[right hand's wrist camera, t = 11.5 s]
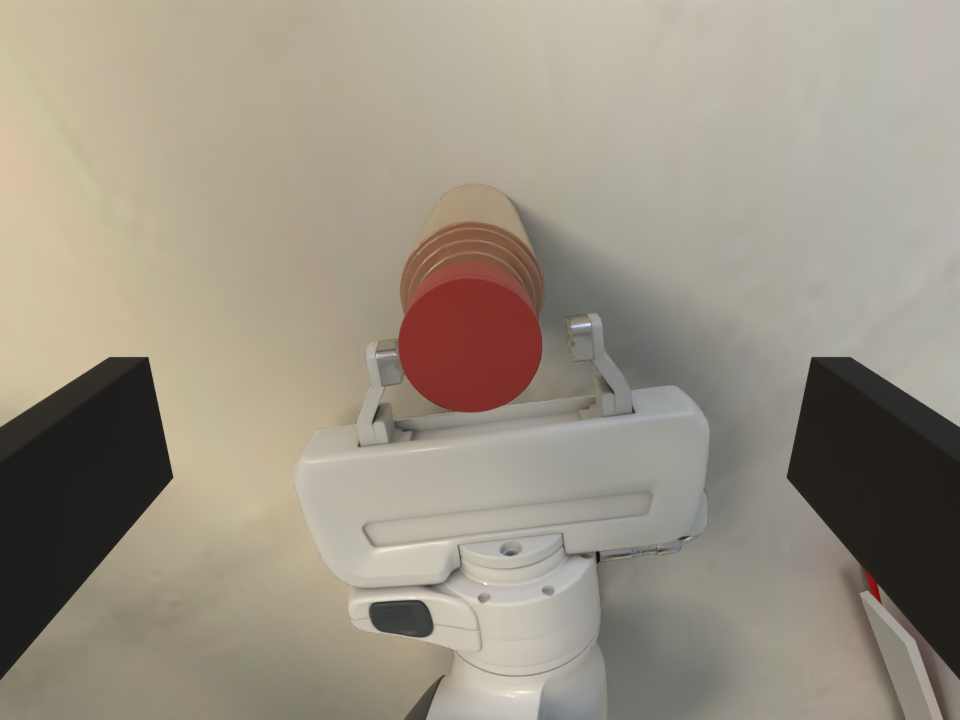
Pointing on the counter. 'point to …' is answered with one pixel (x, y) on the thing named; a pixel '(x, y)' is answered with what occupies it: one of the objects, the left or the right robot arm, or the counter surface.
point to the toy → (911, 661)
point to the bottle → (474, 241)
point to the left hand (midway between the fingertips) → (482, 330)
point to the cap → (470, 338)
